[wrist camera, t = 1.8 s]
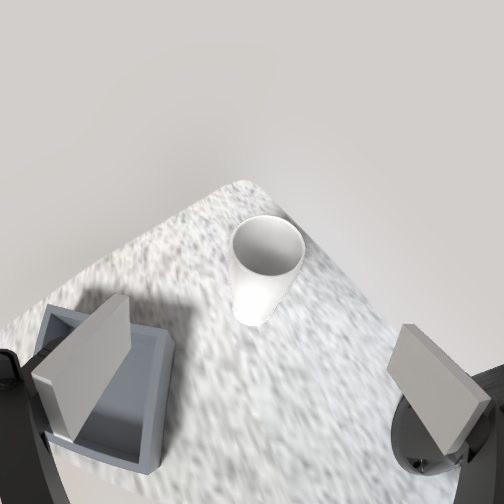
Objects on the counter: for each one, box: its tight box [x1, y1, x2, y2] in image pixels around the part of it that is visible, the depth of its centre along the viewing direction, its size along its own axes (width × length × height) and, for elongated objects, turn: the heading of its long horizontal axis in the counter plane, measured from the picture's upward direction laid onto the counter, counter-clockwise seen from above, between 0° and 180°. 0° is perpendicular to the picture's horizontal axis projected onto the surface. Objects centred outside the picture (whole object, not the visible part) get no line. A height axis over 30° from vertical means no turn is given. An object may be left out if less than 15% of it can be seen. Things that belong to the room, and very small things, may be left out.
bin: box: [33, 304, 176, 475], centre depth 27 cm, size 16×16×6 cm
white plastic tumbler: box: [228, 215, 306, 326], centre depth 32 cm, size 7×7×15 cm
